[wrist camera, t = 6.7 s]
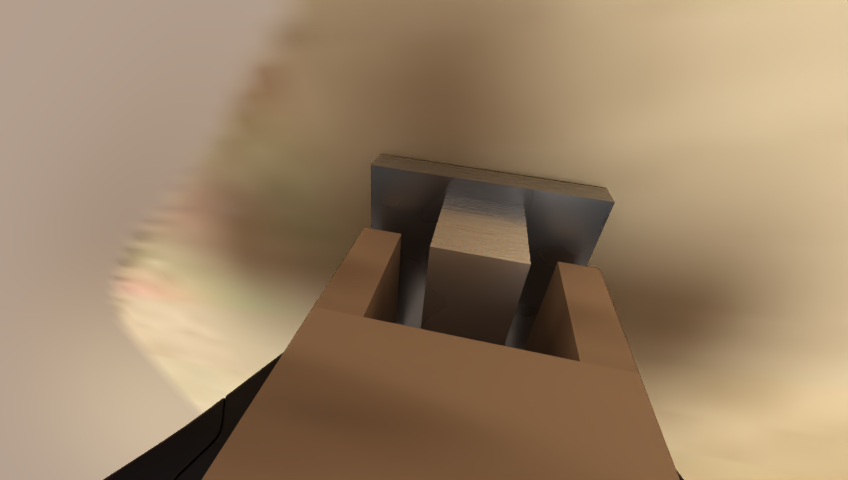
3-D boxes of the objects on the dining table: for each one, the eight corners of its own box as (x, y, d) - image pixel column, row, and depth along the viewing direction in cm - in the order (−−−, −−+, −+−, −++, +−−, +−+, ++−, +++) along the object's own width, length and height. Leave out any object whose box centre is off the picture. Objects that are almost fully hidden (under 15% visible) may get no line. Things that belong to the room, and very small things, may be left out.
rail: (481, 484, 19) (478, 560, 16) (376, 458, 20) (357, 527, 17) (606, 188, 9) (650, 262, 6) (380, 154, 9) (333, 208, 7)
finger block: (539, 394, 11) (567, 681, 7) (366, 356, 12) (273, 591, 7) (599, 268, 8) (735, 625, 4) (364, 227, 9) (201, 479, 4)
